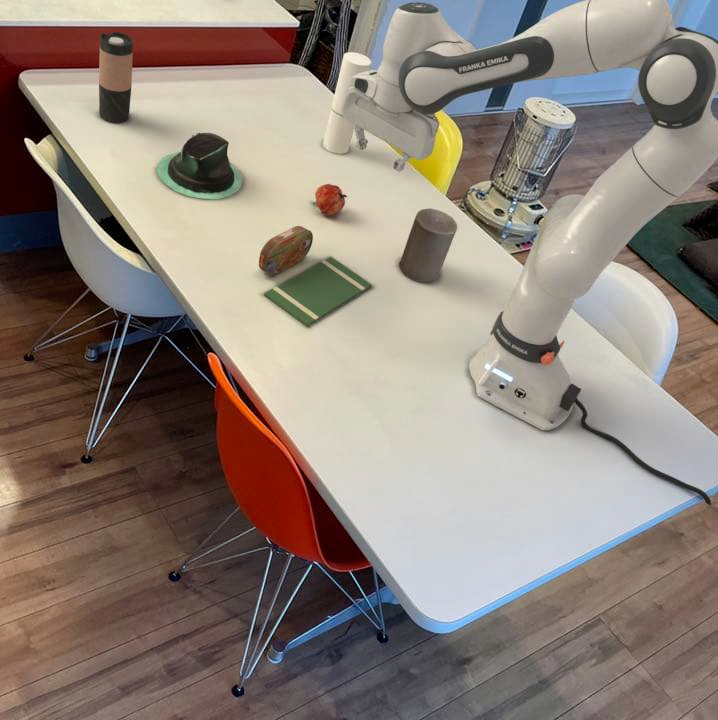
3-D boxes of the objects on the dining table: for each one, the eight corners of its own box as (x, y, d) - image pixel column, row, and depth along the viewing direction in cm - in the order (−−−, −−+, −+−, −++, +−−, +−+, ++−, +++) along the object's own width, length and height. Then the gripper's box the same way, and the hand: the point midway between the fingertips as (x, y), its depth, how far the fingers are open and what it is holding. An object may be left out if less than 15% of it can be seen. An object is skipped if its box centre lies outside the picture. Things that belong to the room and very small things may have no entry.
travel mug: (126, 126, 195) (129, 48, 181) (94, 119, 193) (95, 40, 180) (133, 112, 200) (136, 36, 187) (102, 105, 199) (104, 28, 186)
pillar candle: (390, 264, 179) (408, 210, 169) (416, 252, 186) (435, 199, 176) (421, 288, 176) (442, 233, 166) (447, 274, 182) (468, 221, 172)
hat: (227, 207, 178) (143, 183, 178) (242, 205, 197) (165, 183, 196) (242, 141, 175) (156, 117, 175) (256, 145, 193) (178, 123, 193)
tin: (264, 281, 164) (270, 249, 158) (253, 274, 165) (259, 241, 159) (310, 257, 174) (317, 226, 168) (299, 250, 175) (306, 219, 169)
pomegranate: (306, 220, 188) (337, 215, 182) (300, 189, 186) (331, 183, 180) (326, 214, 194) (357, 209, 187) (319, 184, 192) (350, 178, 185)
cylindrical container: (353, 148, 215) (376, 61, 198) (339, 156, 210) (361, 67, 193) (332, 137, 217) (353, 50, 200) (318, 144, 212) (338, 55, 195)
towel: (371, 286, 172) (372, 284, 171) (306, 326, 157) (307, 324, 156) (330, 258, 175) (330, 256, 175) (263, 295, 161) (264, 292, 160)
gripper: (450, 112, 144) (429, 178, 153) (364, 66, 150) (349, 132, 160) (432, 120, 139) (412, 187, 149) (344, 73, 146) (330, 139, 155)
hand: (379, 158), depth 154 cm, fingers open, 8 cm apart
